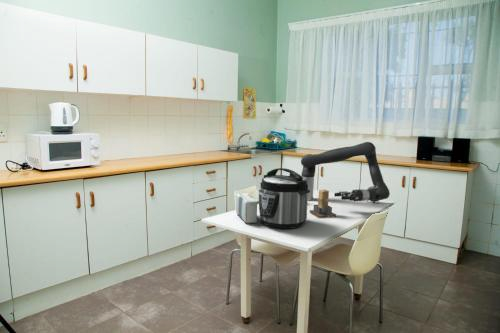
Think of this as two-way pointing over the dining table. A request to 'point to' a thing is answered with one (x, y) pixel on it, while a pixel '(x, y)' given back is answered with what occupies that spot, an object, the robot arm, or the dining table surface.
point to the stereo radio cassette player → (247, 207)
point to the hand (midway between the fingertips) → (338, 196)
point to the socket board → (322, 212)
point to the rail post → (323, 198)
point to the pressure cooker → (283, 199)
